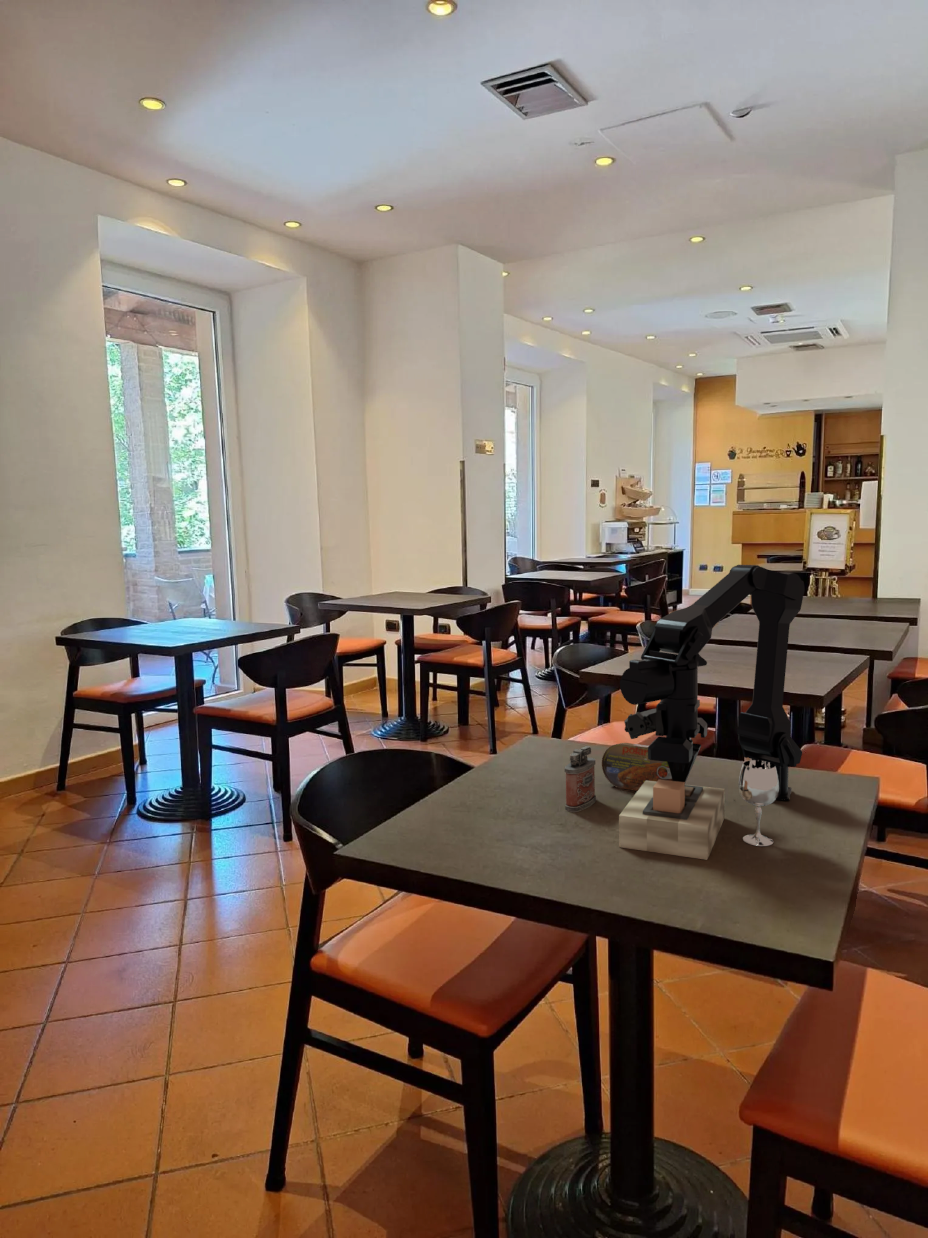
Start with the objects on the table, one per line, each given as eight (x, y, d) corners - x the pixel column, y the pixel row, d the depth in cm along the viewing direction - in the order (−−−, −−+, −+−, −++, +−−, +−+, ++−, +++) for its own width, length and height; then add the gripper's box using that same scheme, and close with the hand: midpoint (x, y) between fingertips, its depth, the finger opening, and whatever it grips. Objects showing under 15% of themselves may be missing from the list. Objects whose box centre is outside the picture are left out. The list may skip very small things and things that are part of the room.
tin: (601, 785, 153) (600, 741, 152) (608, 780, 156) (608, 737, 155) (677, 799, 144) (677, 752, 143) (684, 794, 147) (684, 748, 146)
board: (645, 808, 140) (645, 777, 139) (724, 818, 134) (724, 786, 134) (619, 847, 124) (619, 812, 123) (707, 859, 118) (707, 823, 118)
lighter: (577, 813, 139) (577, 756, 137) (560, 809, 141) (559, 753, 139) (600, 800, 145) (599, 745, 144) (583, 796, 147) (582, 742, 146)
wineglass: (753, 850, 121) (754, 772, 120) (730, 836, 127) (731, 761, 125) (786, 845, 123) (787, 767, 121) (762, 831, 128) (763, 757, 127)
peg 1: (658, 811, 128) (658, 779, 127) (684, 814, 126) (684, 782, 125) (653, 820, 124) (653, 787, 123) (679, 823, 122) (679, 790, 122)
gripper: (642, 682, 142) (642, 768, 144) (614, 704, 125) (615, 802, 127) (707, 685, 137) (707, 775, 139) (688, 709, 120) (688, 811, 122)
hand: (678, 790), depth 132 cm, fingers closed, pressing on peg 2
